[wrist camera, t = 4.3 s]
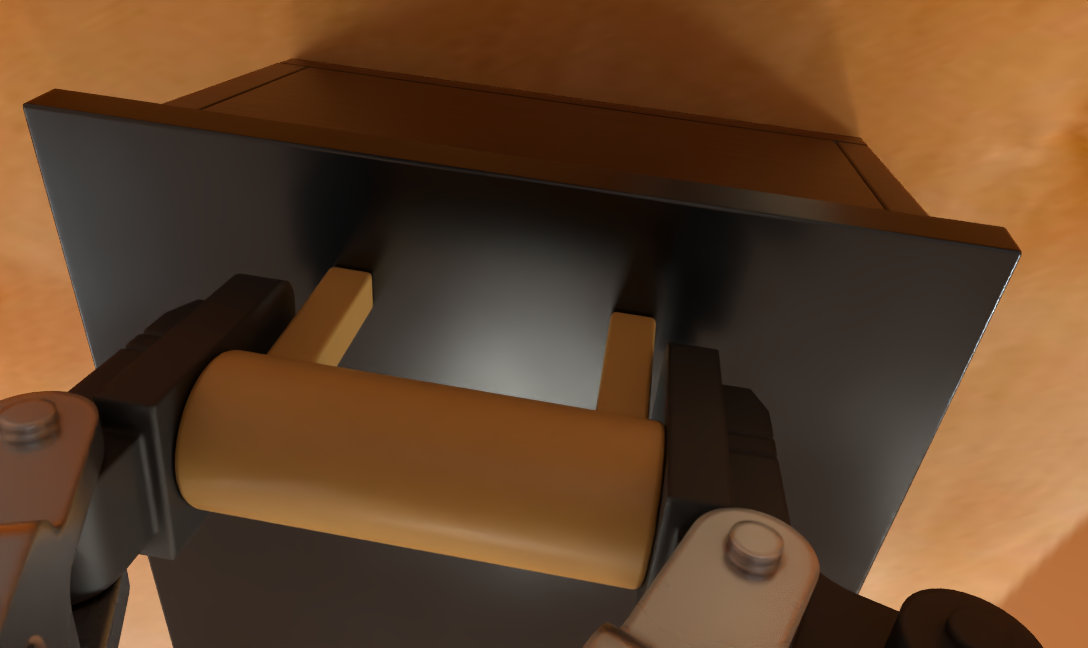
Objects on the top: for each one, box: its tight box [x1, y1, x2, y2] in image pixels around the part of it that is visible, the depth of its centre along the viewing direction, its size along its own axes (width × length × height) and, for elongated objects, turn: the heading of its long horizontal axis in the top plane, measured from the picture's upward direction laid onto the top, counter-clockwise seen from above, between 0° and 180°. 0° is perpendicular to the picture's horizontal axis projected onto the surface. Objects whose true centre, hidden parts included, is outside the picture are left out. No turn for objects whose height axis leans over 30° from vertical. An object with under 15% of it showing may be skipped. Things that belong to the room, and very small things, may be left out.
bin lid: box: [23, 89, 1021, 648], centre depth 15 cm, size 16×15×5 cm
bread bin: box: [163, 59, 929, 216], centre depth 21 cm, size 15×15×7 cm
